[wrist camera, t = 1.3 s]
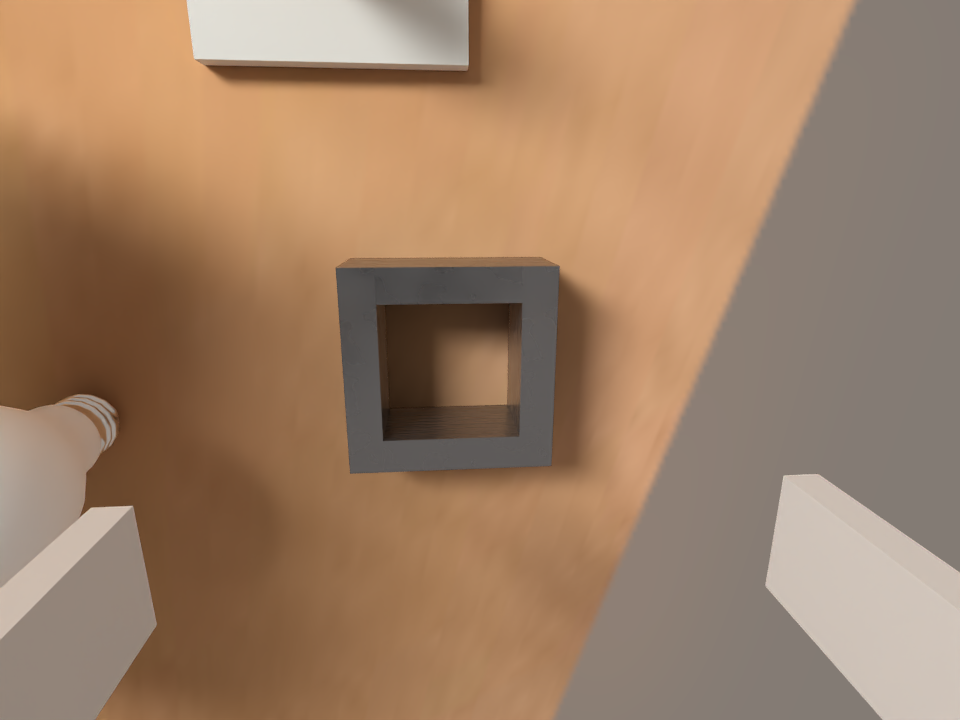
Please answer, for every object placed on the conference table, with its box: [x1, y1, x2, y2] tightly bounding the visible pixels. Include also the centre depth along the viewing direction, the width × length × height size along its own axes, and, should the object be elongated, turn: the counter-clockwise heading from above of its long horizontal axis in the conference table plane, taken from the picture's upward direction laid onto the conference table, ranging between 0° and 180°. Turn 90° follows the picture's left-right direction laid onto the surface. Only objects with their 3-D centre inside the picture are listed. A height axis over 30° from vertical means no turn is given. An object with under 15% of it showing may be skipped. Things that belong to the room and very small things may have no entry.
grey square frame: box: [336, 257, 560, 474], centre depth 25 cm, size 9×9×4 cm
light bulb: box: [0, 394, 120, 588], centre depth 21 cm, size 7×7×11 cm
